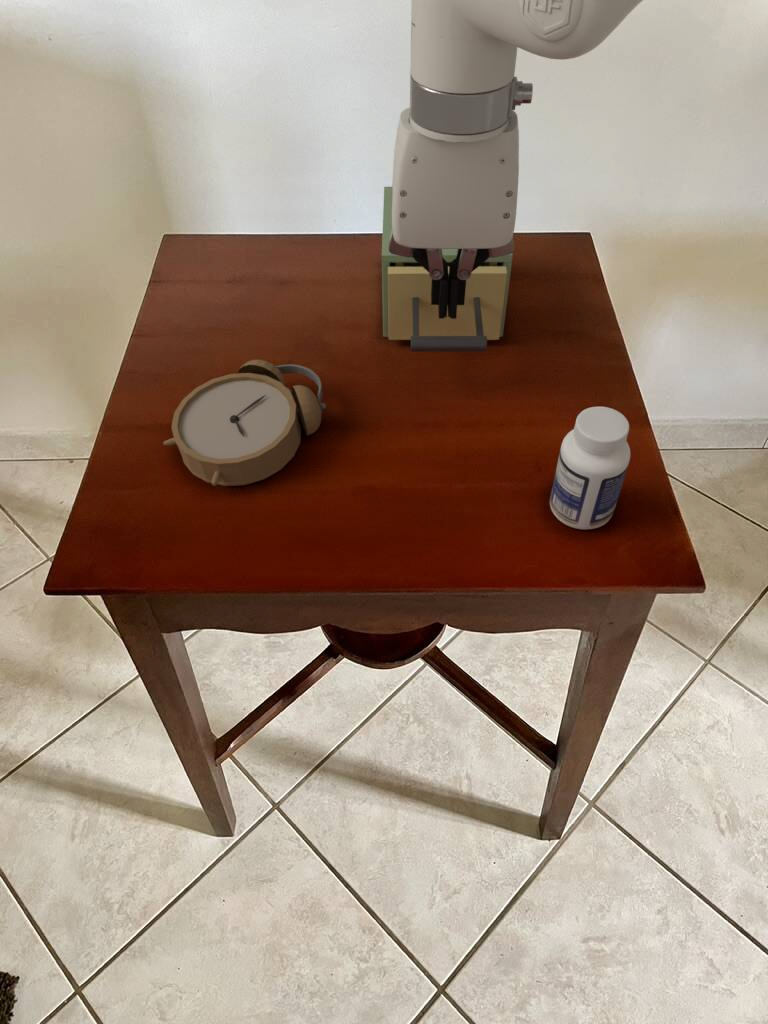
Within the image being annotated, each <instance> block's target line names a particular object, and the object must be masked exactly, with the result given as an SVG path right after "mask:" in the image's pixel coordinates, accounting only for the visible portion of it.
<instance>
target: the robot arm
mask: <svg viewBox="0 0 768 1024" xmlns="http://www.w3.org/2000/svg"><path fill="white" fill-rule="evenodd" d="M643 1H644V0H411V3H410V5H411V6H410V7H411V9H410V10H411V11H410V13H411V14H410V67H409V69H410V70H409V71H410V72H409V74H410V75H409V76H410V77H409V107H406V108H405V109H404V110H402V111H401V112H400V115H399V118H398V123H397V129H396V135H395V142H394V149H393V162H392V163H393V165H392V180H391V181H392V182H391V187H392V231H391V235H390V238H389V252H390V253H392V254H395V255H399V256H403V257H408V258H410V257H412V258H414V259H415V260H416V261H417V262H418V263H419V264H420V265H421V266H422V267H423V268H424V269H426V270H427V271H428V272H429V273H430V277H431V278H432V285H431V305H438V313H439V318H445V317H447V304H448V317H450V318H451V319H456V315H457V305H464V302H465V290H466V280H467V279H469V277H470V276H471V272H472V271H474V270H475V269H476V268H477V267H479V266H480V265H481V264H482V263H484V262H485V261H486V260H487V259H488V258H491V257H492V258H495V257H500V256H504V255H509V254H511V253H514V251H515V245H514V238H513V237H514V233H515V227H516V218H517V209H518V193H519V177H520V176H519V175H520V131H519V130H520V129H519V119H518V113H516V106H517V107H518V106H519V107H520V106H521V105H522V104H523V105H524V104H526V105H528V104H529V105H531V104H532V100H533V93H534V92H533V90H534V87H533V83H532V82H531V83H530V82H523V81H522V80H518V77H517V76H515V75H516V73H515V72H516V64H517V55H518V48H519V49H521V50H523V51H525V52H528V53H529V54H530V53H531V54H532V55H536V56H537V57H538V56H539V57H542V58H546V59H551V60H561V61H563V60H571V59H576V58H579V57H581V56H584V55H586V54H588V53H590V52H591V51H593V50H594V49H596V48H597V47H599V45H601V44H602V43H603V42H604V41H605V40H606V39H607V38H608V37H609V36H610V35H611V34H612V33H613V31H615V30H616V29H617V28H618V27H619V26H620V25H621V23H622V22H623V21H624V20H625V19H626V18H627V17H628V16H629V14H630V13H631V12H632V11H634V9H635V8H636V7H638V6H639V5H640V4H641V3H642V2H643ZM442 249H457V253H456V258H455V259H454V260H453V261H452V265H449V276H448V265H446V260H445V259H444V258H443V255H442Z"/></svg>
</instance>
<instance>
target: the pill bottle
mask: <svg viewBox="0 0 768 1024" xmlns="http://www.w3.org/2000/svg"><path fill="white" fill-rule="evenodd" d="M629 431H630V423H629V421H628V419H627V417H626V416H625V415H624V414H622V413H621V412H620V411H618V410H617V409H614V408H611V407H607V406H592V407H588V408H585V409H583V410H582V411H580V412H579V414H577V416H576V420H575V423H574V427H573V429H571V430H570V431H569V432H568V433H567V434H565V436H564V438H563V440H562V442H561V446H560V450H559V455H558V459H557V463H556V469H555V473H554V479H553V483H552V488H551V491H550V498H549V506H550V510H551V512H552V514H553V515H554V517H556V519H557V520H558V521H560V523H562V524H563V525H566V526H568V527H570V528H573V529H577V530H584V531H585V530H593V529H598V528H601V527H603V526H605V525H606V524H607V523H608V522H609V521H610V520H611V518H612V517H613V515H614V512H615V511H616V510H615V509H616V506H617V503H618V499H619V497H620V493H621V490H622V487H623V484H624V481H625V477H626V474H627V471H628V468H629V464H630V460H631V448H630V445H629V443H628V441H627V439H628V435H629Z"/></svg>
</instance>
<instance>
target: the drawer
mask: <svg viewBox="0 0 768 1024" xmlns="http://www.w3.org/2000/svg"><path fill="white" fill-rule="evenodd" d="M446 265H448V276H449V265H452V262H446ZM506 278H507V270H506V266H497V262H484V263H482V264H481V265H480V266H479V267H477V268H476V269H475V270H474V271H472V272H471V276H470V277H469V279H467V280H466V290H465V302H464V305H457V315H456V319H451V318H450V317H448V304H447V317H445V318H439V313H438V305H431V285H432V278H431V277H430V273H429V272H428V271H427V270H426V269H424V268H423V267H422V266H421V265H420V264H419V263H418V262H395V267H388V331H389V337H388V341H404V340H405V341H410V352H487V350H488V341H497V340H498V341H499V340H500V337H499V336H500V328H501V319H502V311H503V303H504V294H505V286H506Z"/></svg>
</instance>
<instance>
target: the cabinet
mask: <svg viewBox="0 0 768 1024" xmlns="http://www.w3.org/2000/svg"><path fill="white" fill-rule="evenodd" d="M382 209H383V210H382V212H383V213H382V236H381V237H382V238H381V279H382V280H381V288H382V336H383V338H389V331H388V267H395V262H417V261H416V260H415V259H414V258H412V257H410V258H408V257H403V256H399V255H395V254H392V253H390V252H389V238H390V235H391V231H392V186H383V207H382ZM456 253H457V249H442V255H443V258H444V259H445V260H446V262H452V261H453V260H454V259H455V258H456ZM513 253H514V252H512V253H511V254H509V255H504V256H500V257H495V258H492V257H491V258H488V259H487V260H486V261H485V262H497V266H506V270H507V278H506V286H505V294H504V303H503V311H502V319H501V328H500V336H499V338H502V337H503V336H504V329H505V320H506V312H507V304H508V296H509V289H510V281H511V272H512V266H513V265H512V264H513V257H514V255H513Z"/></svg>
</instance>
